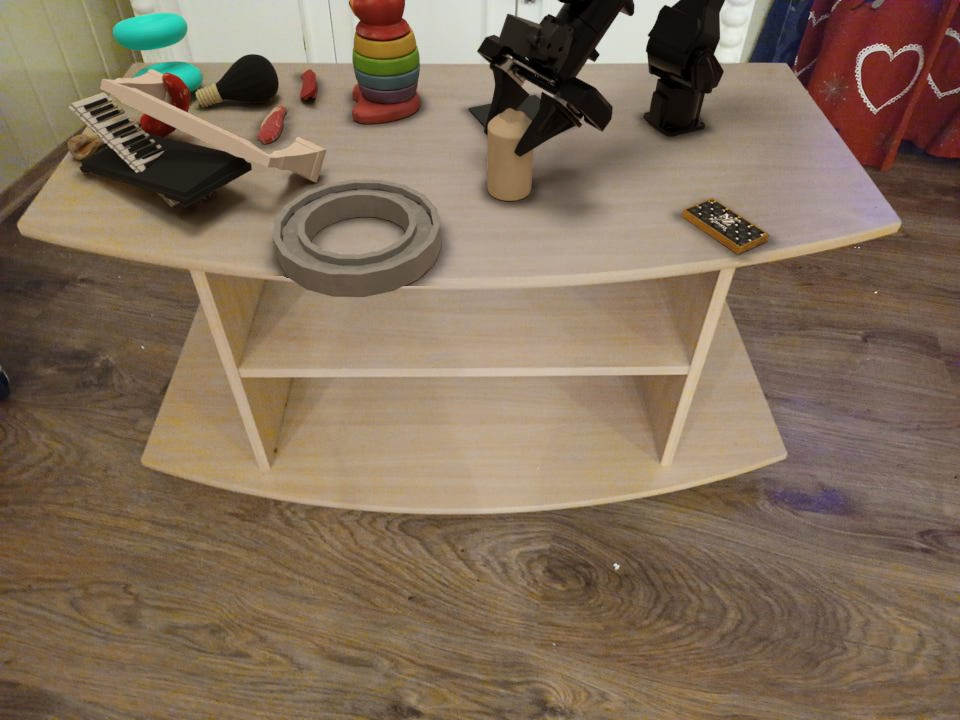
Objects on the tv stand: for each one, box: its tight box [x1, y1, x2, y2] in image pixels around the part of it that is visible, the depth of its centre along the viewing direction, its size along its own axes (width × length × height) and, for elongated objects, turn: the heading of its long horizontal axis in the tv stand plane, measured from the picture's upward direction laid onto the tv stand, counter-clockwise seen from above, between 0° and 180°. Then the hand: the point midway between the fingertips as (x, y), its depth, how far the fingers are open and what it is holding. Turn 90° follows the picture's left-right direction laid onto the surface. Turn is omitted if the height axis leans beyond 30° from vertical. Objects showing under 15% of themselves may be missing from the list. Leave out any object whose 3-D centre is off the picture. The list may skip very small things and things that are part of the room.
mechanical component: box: [272, 178, 442, 298], centre depth 82 cm, size 18×18×3 cm
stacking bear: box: [348, 0, 421, 125], centre depth 101 cm, size 11×10×18 cm
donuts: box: [112, 12, 204, 93], centre depth 105 cm, size 10×10×10 cm
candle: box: [486, 108, 535, 202], centre depth 88 cm, size 6×6×10 cm
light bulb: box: [195, 53, 280, 108], centre depth 105 cm, size 7×7×12 cm
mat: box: [468, 94, 541, 128], centre depth 105 cm, size 11×10×1 cm
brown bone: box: [67, 112, 145, 161], centre depth 100 cm, size 17×3×3 cm
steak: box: [256, 104, 288, 145], centre depth 102 cm, size 10×1×3 cm
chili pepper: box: [299, 69, 318, 101], centre depth 109 cm, size 12×5×2 cm
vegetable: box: [137, 73, 192, 138], centre depth 95 cm, size 4×5×12 cm
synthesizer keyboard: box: [68, 91, 253, 209], centre depth 89 cm, size 22×10×10 cm, turn 56°
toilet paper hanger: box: [100, 69, 327, 183], centre depth 88 cm, size 26×10×4 cm, turn 66°
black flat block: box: [681, 197, 770, 255], centre depth 86 cm, size 9×1×5 cm
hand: (501, 144), depth 86 cm, fingers closed on candle, 5 cm apart
